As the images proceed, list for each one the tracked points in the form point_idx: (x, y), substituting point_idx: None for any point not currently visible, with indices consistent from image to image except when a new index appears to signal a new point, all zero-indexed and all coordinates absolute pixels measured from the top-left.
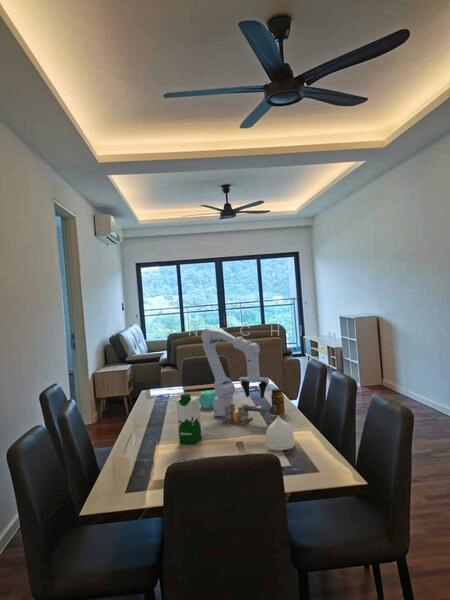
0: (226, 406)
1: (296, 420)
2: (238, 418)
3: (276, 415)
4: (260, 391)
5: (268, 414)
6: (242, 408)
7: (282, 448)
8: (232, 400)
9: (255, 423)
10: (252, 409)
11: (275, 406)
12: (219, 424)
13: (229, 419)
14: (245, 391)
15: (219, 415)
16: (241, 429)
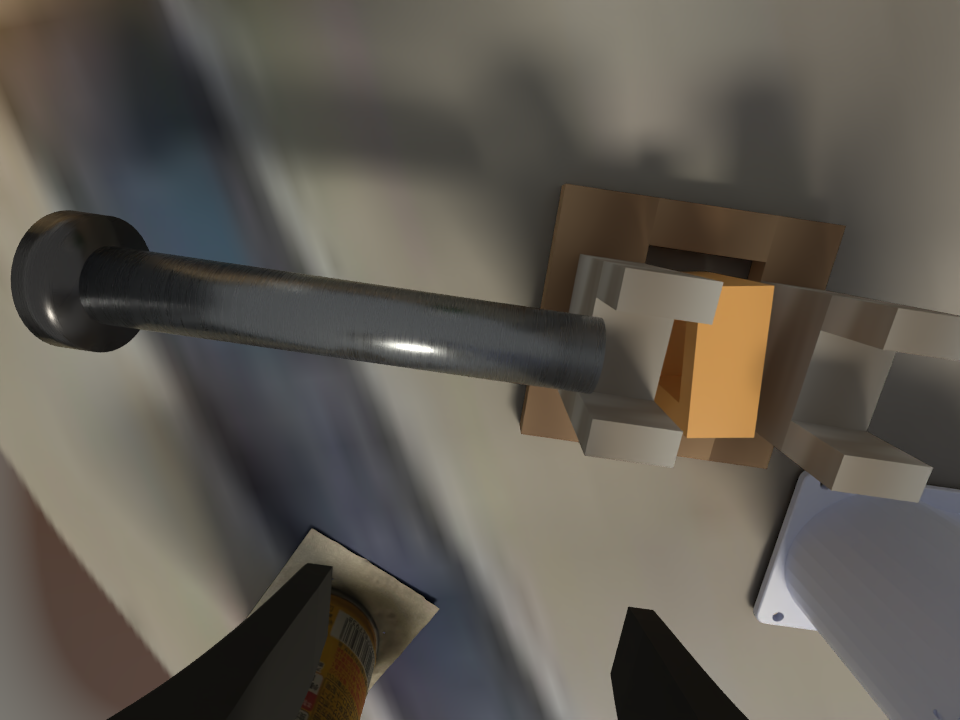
0: (952, 315)
1: (58, 436)
2: (677, 377)
3: (310, 562)
4: (258, 660)
5: (404, 589)
6: (625, 268)
7: None
8: (896, 700)
9: (444, 281)
10: (455, 297)
11: (29, 323)
12: (870, 184)
13: (777, 283)
14: (711, 705)
15: (935, 487)
16: (540, 15)
